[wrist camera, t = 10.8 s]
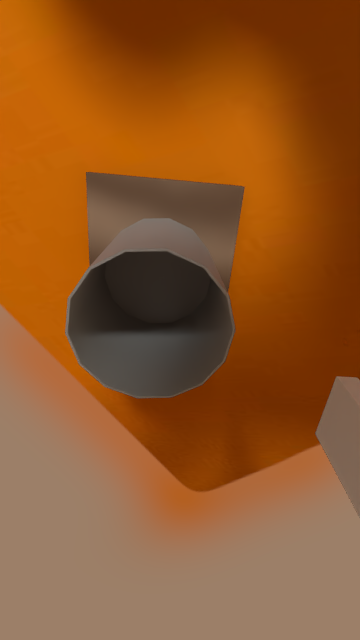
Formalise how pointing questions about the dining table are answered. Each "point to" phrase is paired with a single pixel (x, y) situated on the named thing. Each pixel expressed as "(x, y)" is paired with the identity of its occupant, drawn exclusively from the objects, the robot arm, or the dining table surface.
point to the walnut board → (165, 211)
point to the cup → (151, 312)
